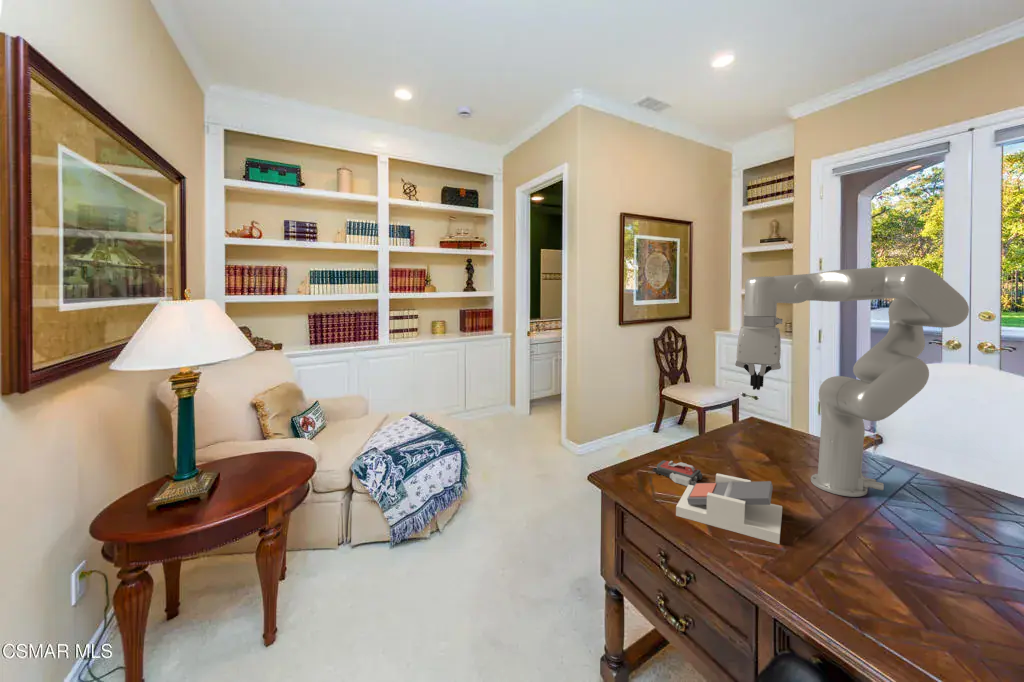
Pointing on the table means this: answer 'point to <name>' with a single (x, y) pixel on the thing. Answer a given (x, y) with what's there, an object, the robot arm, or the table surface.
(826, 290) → the robot arm
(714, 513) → the switch housing
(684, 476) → the walkie-talkie
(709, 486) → the rocker
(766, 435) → the table surface
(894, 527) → the table surface
